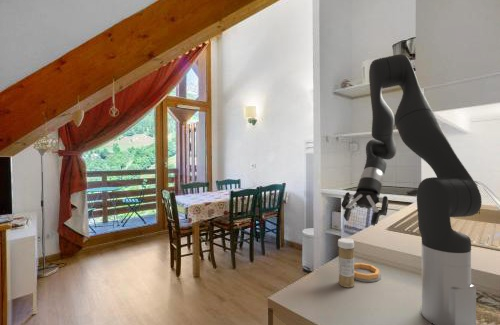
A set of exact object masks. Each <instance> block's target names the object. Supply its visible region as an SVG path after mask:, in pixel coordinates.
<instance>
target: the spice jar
mask: <svg viewBox="0 0 500 325" xmlns="http://www.w3.org/2000/svg"><path fill="white" fill-rule="evenodd" d="M337 246H338V284H339V285H340V286H342V287H344V288H353V287H354V286H355V279H354V263H355V253H354V251H355V250H354V249H355V241H354V239H352V238H347V237H343V238H342V237H341V238H338V240H337Z"/></svg>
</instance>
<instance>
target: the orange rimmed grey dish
mask: <svg viewBox="0 0 500 325" xmlns="http://www.w3.org/2000/svg"><path fill="white" fill-rule="evenodd" d="M381 279H382V275H381V273H380V269H379V268H378V267H376V266H375V265H373V264H369V263H363V262H356V263H355V262H354V281H358V282H364V283H376V282H379V281H381Z"/></svg>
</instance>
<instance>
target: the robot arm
mask: <svg viewBox="0 0 500 325" xmlns="http://www.w3.org/2000/svg"><path fill="white" fill-rule="evenodd" d="M368 72H369V73H368V77H369V78H368V80H369V81H368V82H369V91H370V92H369V94H370V102H371V103H370V105H371V112H372V115H371V116H372V120H371V122H372V123H371V137H372V138H373V139H371V140H369V141H368V142H367V143H366V146H365V154H366V156H365V157H366V160H365V164H364V167H363V170H362V173H361V175H360V177H359V182H358V183H357V187H356V191H355V193H354V194H351V193H350V192H346V193H345V195H344V197H343V200H342V202H341V207H342V209H343V210H344V213H343V218H344V219H345V221H347V222H349V219H350V217H351V214H352V211H353V210H356V209H358V208H361V209H372V211H373V213H372V218H371V220H370V221H371V222H370V223H371V226H375V225H377V224H378V223H379V219H380V216H387V215H388V214H387V213H388V208H389V203H390V202H389V199H388V196H387V195H384V196H383V197H380V195H381V191H382V188H383V185H384V179H385V173H386V169H387V162H386V161H387V160H392V159H393V158H394V157H395V156H396V154H397V146H396V142H395V139H394V127H395V126H396V130H397V132H398V134H399V136H400V139H401V140H402V142H403V143H404V144H405V146H406V147H408V149H410V150H411V151H412V152H413V153H414V154H416V155H417V156H418V157H419V158H421V159H422V160H423V161H424V162H425V163H426V164H428V166H429V167H430V168H431V169H432V171H433V172H434V174H435V176H436V177H435V176H434V177H427V178H424V179H422V180H421V182H420V183H419V185H418V186H417V190H416V207H417V223H418V230H419V234H420V237H421V314H422V316H423V318H425V320H426V321H428V322H429V323H430V324H432V323H433V324H432V325H477V287H476V285H475V284H472V240H471V238H470V236H468V235H467V234H466V233H462V232H460V231H456V230H454V229H453V228H452V223H451V218H459V217H461V218H463V217H465V218H466V217H472V216H475V215H476V214H478V213H479V211H480V210H481V208H482V200H483V199H482V194H481V193H480V189H479V187H478V185H477V183H476V181H475V180H474V179H473V177H472V175H471V174H470V173H469V171H468V170H467V169H466V167H465V166H464V165H463V162H462V161H461V160H460V158H459V157H458V156H457V154H456V152H455V151H454V149H453V147H452V145H451V143H450V142H449V140H448V139H447V136H446V135H445V133H444V131H443V128H442V127H441V124H440V122H439V121H438V120H439V119H438V118H437V117H436V114H435V112H434V110H433V109H432V107H431V105H430V104H429V102H428V100H427V98H426V96H425V95H424V92H423V91H422V90H423V89H422V88H421V86H420V83H419V81H418V78H417V75H416V73H415V70H414V66H413V64H412V61H411V60H410V58H409V57H408V56H407V55H406V54H401V53H400V54H399V53H398V54H394V55H390V56H386V57H380V58H376V59H374V60H372V62H371V63H370V65H369V70H368ZM397 86H398V87H400V88H401V89H402V90H401V91H402V97H401V100H400V102H399V104H398V106H397V109H396V112H395V115H394V112H393V111H392V109H391V107H390V106H389V105H388V104H387V102H386V101H385V99H384V98H383V94H382V90H383V89H388V88H392V87H397ZM379 203H380V204H381V209H379V208H378V207H377V204H379Z"/></svg>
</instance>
